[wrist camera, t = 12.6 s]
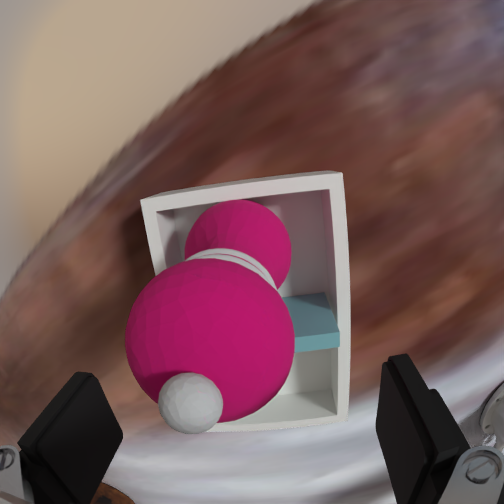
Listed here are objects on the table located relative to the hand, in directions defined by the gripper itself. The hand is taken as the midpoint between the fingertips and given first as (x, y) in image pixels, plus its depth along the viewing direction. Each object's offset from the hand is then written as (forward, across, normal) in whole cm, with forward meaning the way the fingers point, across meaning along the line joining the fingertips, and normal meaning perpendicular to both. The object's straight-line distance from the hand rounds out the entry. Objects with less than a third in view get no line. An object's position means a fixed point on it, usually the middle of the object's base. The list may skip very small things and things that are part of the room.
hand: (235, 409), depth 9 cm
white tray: (+19, +1, +5) cm, 20 cm away
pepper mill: (+18, +1, -1) cm, 18 cm away
